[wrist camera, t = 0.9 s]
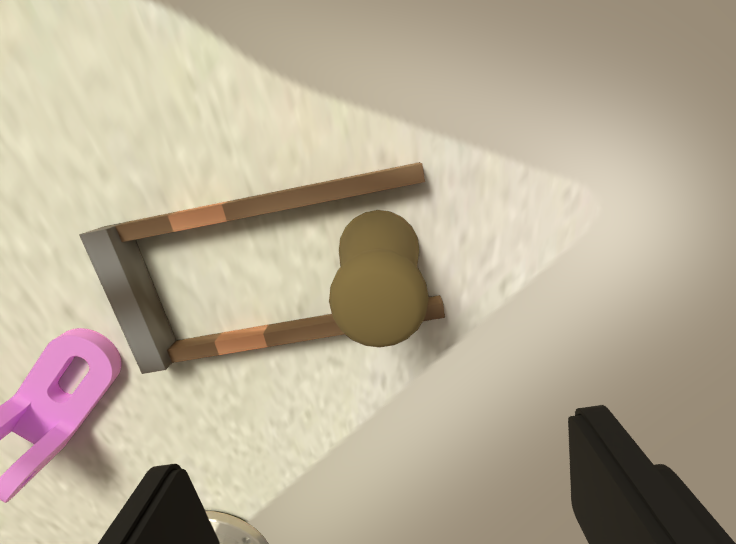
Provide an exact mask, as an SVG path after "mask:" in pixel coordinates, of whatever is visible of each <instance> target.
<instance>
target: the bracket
mask: <svg viewBox="0 0 736 544" xmlns="http://www.w3.org/2000/svg"><path fill="white" fill-rule="evenodd" d="M75 356H79V357H81V358H83V359H84V360H86V361H87V363H88V365H89V372H88V373H87V374H86V376H85V377H84V379H83V380H82V381H81V383H80V384H79V386H78V387H77V388H76V390H75V391H74V393H73V394H68V393H66V392H64V391H63V390H61V388H60V387H59V384H58V382H59V379H60V378H61V376H62V375H63V373H64V372H65V371H66V369H67V368H68V366H69V365H70V363H71V362H72V360H73V359H74V357H75ZM120 370H121V357H120V354H119V352H118V350H117V348H116V347H115V346H114V344H113V343H112V342H111V341H110V340H109V339H107V338H106V337H105V336H103V335H102V334H100V333H98V332H96V331H93V330H89V329H82V328H77V329H72V330H69V331H67V332H65V333H63V334H62V335H60V336H58V337H57V338H55V339H54V340H52V341H51V342H50V343H49V344H48V345H47V346H46V348H45V350H44V351H43V353H42V354H41V356H40V357H39V359H38V360H37V362H36V363H35V365H34V366H33V368H32V369H31V371H30V372H29V374H28V376H27V377H26V379H25V380H24V382H23V383H22V385H21V386H20V388H19V389H18V391H17V392H16V394H15V395H14V396H13V397H12V398H10V399H9V400H8V401H6V402H5V403H4V404H2V405H1V406H0V440H1V439H2V438H4V437H5V436H6V435H7V434H9V433H10V432H11V431H12V432H14V433H16V434H18V435H19V436H21V437H23V438H24V439H26V440H28V441H30V442H31V443H33V444H35V445H33V446H32V447H31V448H30V449H29V450H28V451H27V452H26V453H25V454H23V455H22V456H21V457H20V458H19V459H18V460H17V461H16V462H15V463H14V464H13V465H12V466H11V467H10V468H9V469H8V470H7V471H6V472H5V473H4V474H3V475H2V476H1V477H0V500H1V501H3V502H5V503H6V502H8V501H9V500H10V499H11V498H13V497H14V496H15V495H16V494H17V493H18V492H19V491H20V490H21V489H22V488H23V487H24V486H25V485H26V484H27V483H28V482H29V481H30V480H31V479H32V478H33V477H34V476H35V475H36V474H37V473H38V472H39V471H40V470H41V469H42V468H43V467H44V466H45V465H46V464H47V463H48V462H49V461H50V460H51V459H52V458H53V457H54V456H55V455H56V454H57V453H58V452H60V451H61V450H62V449H63V448H64V447H65V445H66V444H67V443H68V441H69V440H70V439H71V437H72V436H73V435H74V434H75V432H76V431H77V430H78V428H79V427H80V426H81V424H82V423H83V422H84V420H85V419H86V418H87V416H88V415H89V414H90V412H91V411H92V410H93V408H94V407H95V406H96V404H97V403H98V402H99V400H100V399H101V398H102V396H103V395H104V394H105V392H106V391H107V390H108V388H109V387H110V386H111V384H112V383H113V382H114V380H115V379H116V378H117V376H118V375H119V373H120Z"/></svg>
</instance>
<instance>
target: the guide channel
mask: <svg viewBox="0 0 736 544" xmlns="http://www.w3.org/2000/svg"><path fill="white" fill-rule="evenodd" d="M422 182H425V179H424V173H423V166H422V163H420V162H419V163H414V164H409V165H404V166H400V167H395V168H390V169H385V170H380V171H375V172H370V173H365V174H360V175H355V176H350V177H345V178H340V179H336V180H331V181H326V182H321V183H316V184H311V185H306V186H301V187H296V188H291V189H286V190H281V191H277V192H272V193H267V194H262V195H257V196H252V197H247V198H242V199H237V200H232V201H227V202H222V203H218V204H213V205H208V206H203V207H198V208H193V209H188V210H183V211H178V212H173V213H168V214H163V215H159V216H154V217H149V218H144V219H139V220H134V221H129V222H124V223H119V224H114V225H109V226H104V227H101V228H98V229H95V230H92V231H89V232H86V233H83V234H80V238H81V240H82V242H83V244H84V247H85V249H86V251H87V253H88V255H89V258H90V260H91V262H92V264H93V267H94V269H95V271H96V273H97V275H98V278H99V280H100V282H101V284H102V286H103V289H104V291H105V293H106V295H107V298H108V300H109V302H110V304H111V306H112V309H113V311H114V313H115V315H116V317H117V320H118V322H119V324H120V326H121V329H122V331H123V333H124V335H125V337H126V340H127V342H128V344H129V346H130V348H131V351H132V353H133V355H134V357H135V360H136V362H137V364H138V366H139V368H140V371H141V373H142V374H144V373H150V372H156V371H162V370H166V369H167V368H168V367H169V366H170V365H171V364H172V363H174V362H180V361H186V360H192V359H198V358H204V357H210V356H217V355H223V354H229V353H235V352H241V351H247V350H253V349H259V348H265V347H271V346H277V345H283V344H289V343H295V342H301V341H307V340H313V339H319V338H325V337H331V336H337V335H343V334H344V333H343V332H342V331H341V330H340V328H339V327H338V325H337V324H336V322H335V320H334V319H333V315H332V314H328V315H323V316H317V317H311V318H305V319H299V320H293V321H288V322H282V323H276V324H270V325H264V326H258V327H253V328H247V329H241V330H235V331H229V332H223V333H218V334H212V335H206V336H200V337H194V338H188V339H183V340H177V341H176V339H175V337H174V334H173V332H172V329H171V327H170V324H169V322H168V319H167V317H166V314H165V312H164V310H163V307H162V305H161V302H160V300H159V297H158V295H157V292H156V290H155V287H154V285H153V282H152V280H151V277H150V275H149V273H148V270H147V268H146V265H145V263H144V260H143V258H142V255H141V253H140V250H139V248H138V245H137V243H136V240H135V239H140V238H145V237H150V236H155V235H160V234H165V233H170V232H175V231H180V230H186V229H191V228H196V227H201V226H206V225H211V224H216V223H221V222H226V221H231V220H236V219H241V218H246V217H251V216H256V215H261V214H266V213H271V212H276V211H281V210H286V209H291V208H296V207H301V206H306V205H311V204H317V203H322V202H327V201H332V200H337V199H342V198H347V197H352V196H357V195H362V194H367V193H372V192H377V191H382V190H387V189H392V188H397V187H402V186H407V185H412V184H417V183H422ZM428 298H429V301H428V306H427V311H426V315H425V318H424V320H423V321H427V320H433V319H439V318H445V313H444V307H443V302H442V299H441V297H440V295H439V296H433V297H428Z"/></svg>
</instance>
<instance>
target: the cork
mask: <svg viewBox="0 0 736 544" xmlns="http://www.w3.org/2000/svg"><path fill="white" fill-rule="evenodd" d="M418 254H419V245H418V239H417V236H416V234H415V232H414V230H413V228H412V226H411V225H410V224H409V223H408V222H407V221H406V220H405V219H404V218H403V217H401V216H399V215H397V214H394V213H392V212H389V211H381V210H375V211H370V212H365V213H363V214H361V215H359V216H358V217H356V218H354V219H353V220H352V221H351V222H350V223H349V224H348V225H347V226H346V227H345V229H344V232H343V234H342V236H341V238H340V245H339V257H340V266H341V267H340V268H339V270H338V271H337V273H336V275H335V278H334V280H333V282H332V284H331V287H330V297H329V303H330V307H331V311H332V315H333V319H334V320H335V322H336V324H337V325H338V327H339V328H340V330H341V331H342V332H343V333H344V334H346V335H347V336H348V337H349V338H350V339H352V340H353V341H356V342H358V343H360V344H363V345H365V346H373V347H385V346H392V345H395V344H398V343H400V342H402V341H404V340H406V339H408V338H409V337H410V336H411V335H412V334H413V333H414V332H416V331H417V330H418V328H419V327H420V325H421V323H422V321H423V320H424V318H425V315H426V311H427V306H428V301H429V298H428V291H427V285H426V282H425V280H424V278H423V276H422V274H421V273H420V271H419V269H418V268H417V263H418Z"/></svg>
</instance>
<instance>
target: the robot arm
mask: <svg viewBox="0 0 736 544" xmlns="http://www.w3.org/2000/svg"><path fill="white" fill-rule="evenodd" d="M568 427H569V452H570V477H571V501H572V507H573V511H574V513H575V516H576V519H577V521H578V523H579V525H580V527H581V529H582V531H583V533H584V535H585V537H586V539H587V541H588V543H589V544H736V543H735V542H734V541H733V540H732V539H731V538H730V537H729V535H728V534H727V533H726V532H725V530H724V529H723V528H722V527H721V526H720V525H719V523H718V522H717V521H716V520H715V519H714V518H713V516H712V515H711V514H710V513H709V512H708V511H707V509H706V508H705V507H704V506H703V505H702V504H701V503H700V501H699V500H698V499H697V498H696V497H695V495H694V494H693V493H692V492H691V491H690V490H689V488H688V487H687V486H686V485H685V484H684V483H683V481H682V480H681V479H680V478H679V477H678V476H677V474H675V473H674V472H673V471H672V470H671V469H670V468H669V467H667V466H666V465H663V464H658V465H653V463H652V462H651V461H650V460H649V459H648V457H647V456H646V455H645V454H644V452H643V451H642V450H641V449H640V448H639V446H638V445H637V444H636V443H635V441H634V440H633V439H632V438H631V436H630V435H629V434H628V433H627V431H626V430H625V429H624V428H623V427H622V425H621V424H620V423H619V422H618V420H617V419H616V418H615V417H614V416H613V414H612V413H611V412H610V410H609V409H608V408H607V407H606V406H604V405H599V406H592V407H585V408H578V409H576V411H575V416H570V417H569V418H568ZM98 544H268V542H267V541H266V539H265V538H264V536H263V535H261V533H260V532H259V531H258V530H256V529H255V528H254V527H252V526H251V525H250V524H248V523H247V522H245V521H243V520H241V519H239V518H237V517H234V516H231V515H228V514H225V513H220V512H215V511H205V510H204V507H203V505H202V503H201V501H200V499H199V497H198V495H197V493H196V490H195V488H194V486H193V484H192V482H191V480H190V478H189V476H188V473H187V472H186V470H184V469H181V467H180V466H179V465H178V464H170V465H162V466H155V467H152V468H151V469H150V470H149V471H148V472H147V473H146V474H145V476H144V477H143V479H142V480H141V482H140V483H139V485H138V486H137V488H136V489H135V491H134V492H133V493H132V495H131V496H130V498H129V499H128V501H127V502H126V504H125V505H124V507H123V508H122V509H121V511H120V512H119V514H118V515H117V517H116V518H115V520H114V521H113V523H112V524H111V525H110V527H109V528H108V530H107V531H106V533H105V534H104V536H103V537H102V539H101V540H100V541H99V543H98Z"/></svg>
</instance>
